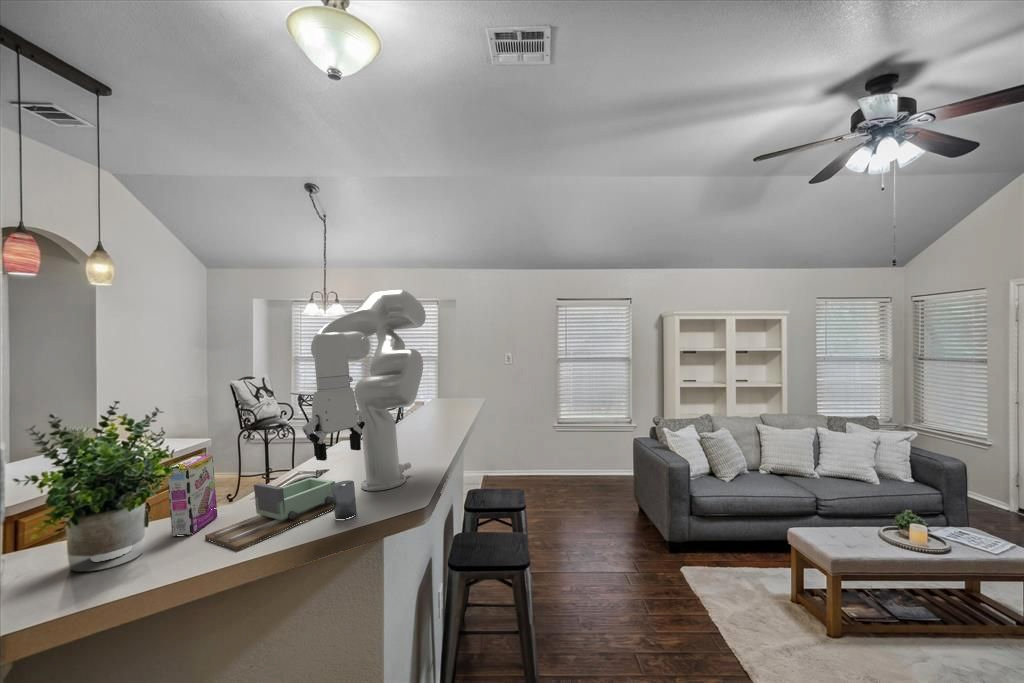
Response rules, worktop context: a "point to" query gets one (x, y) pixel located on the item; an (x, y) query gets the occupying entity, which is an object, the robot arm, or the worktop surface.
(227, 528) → the track
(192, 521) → the candy bar box
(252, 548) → the worktop surface
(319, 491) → the toy truck
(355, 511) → the metal cylinder
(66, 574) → the worktop surface
